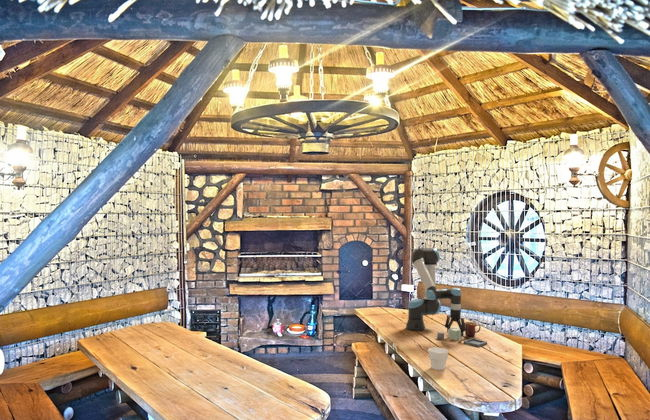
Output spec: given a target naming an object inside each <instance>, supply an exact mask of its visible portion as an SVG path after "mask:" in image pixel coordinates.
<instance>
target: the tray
mask: <svg viewBox="0 0 650 420" xmlns="http://www.w3.org/2000/svg"><path fill="white" fill-rule="evenodd" d="M463 344H465V345H467V344H468V346H472V347H477V348H480V347H482V346H485V345H488V341H486V340H482V339H476V338H475V337H472V338H469V339H466V340H463Z"/></svg>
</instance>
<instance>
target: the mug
mask: <svg viewBox="0 0 650 420" xmlns="http://www.w3.org/2000/svg"><path fill="white" fill-rule="evenodd" d="M464 323H465V328H466V331H464V333H465V334H464V335H465V336H466V338H470V337H472V338H475V337H476V333H478V332H480V331H481V325H480V324H478V323H476V322H473V321H464ZM476 327H479V328H478V330H476Z"/></svg>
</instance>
